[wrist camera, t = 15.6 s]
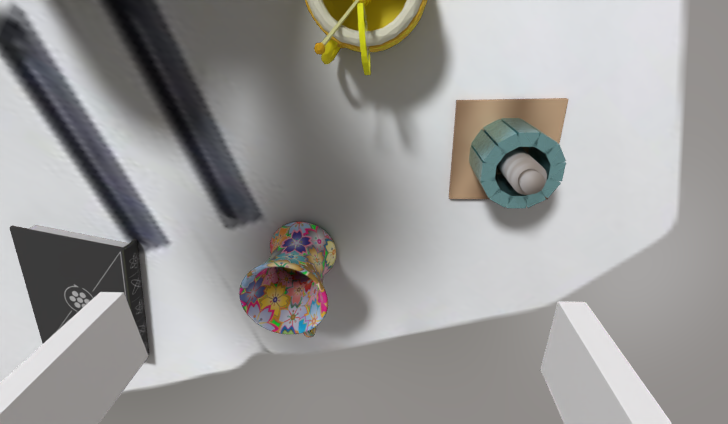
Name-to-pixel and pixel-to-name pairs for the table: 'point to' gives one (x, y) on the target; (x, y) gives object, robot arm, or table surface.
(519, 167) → the peg on square base
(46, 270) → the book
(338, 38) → the mug
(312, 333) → the mug
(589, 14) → the table surface
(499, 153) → the teal slatted pot
